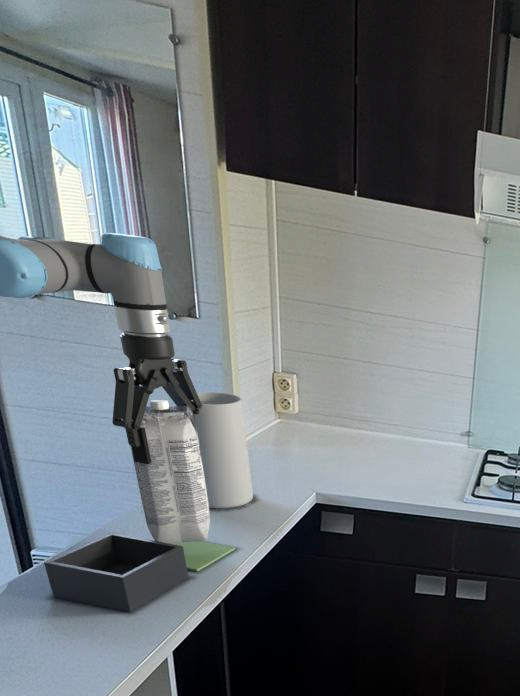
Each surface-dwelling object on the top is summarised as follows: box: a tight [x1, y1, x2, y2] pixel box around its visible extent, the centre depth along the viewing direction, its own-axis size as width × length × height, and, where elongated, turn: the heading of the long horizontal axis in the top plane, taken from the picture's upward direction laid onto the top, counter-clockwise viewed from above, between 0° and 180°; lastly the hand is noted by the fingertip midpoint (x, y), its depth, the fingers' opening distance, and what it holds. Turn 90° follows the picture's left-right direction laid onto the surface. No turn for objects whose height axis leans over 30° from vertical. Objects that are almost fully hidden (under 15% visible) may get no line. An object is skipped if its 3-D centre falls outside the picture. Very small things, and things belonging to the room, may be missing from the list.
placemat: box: [171, 541, 236, 572], centre depth 128 cm, size 14×11×1 cm
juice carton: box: [129, 399, 211, 544], centre depth 120 cm, size 9×10×27 cm
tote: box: [43, 532, 190, 613], centre depth 113 cm, size 15×14×7 cm
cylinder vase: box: [192, 391, 254, 509], centre depth 149 cm, size 12×12×25 cm
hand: (167, 454), depth 119 cm, fingers closed on juice carton, 11 cm apart
